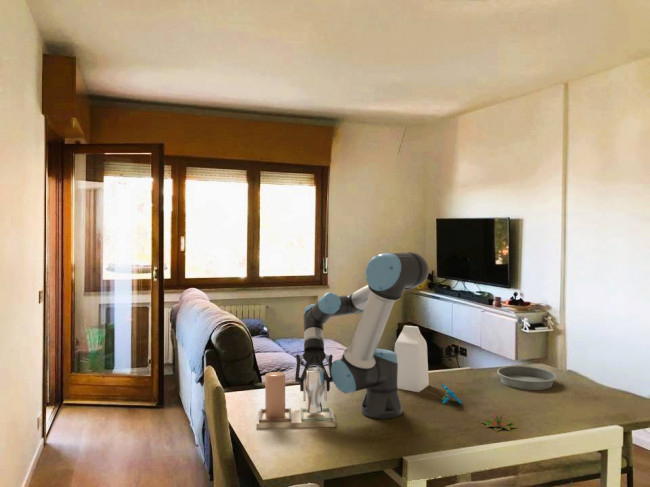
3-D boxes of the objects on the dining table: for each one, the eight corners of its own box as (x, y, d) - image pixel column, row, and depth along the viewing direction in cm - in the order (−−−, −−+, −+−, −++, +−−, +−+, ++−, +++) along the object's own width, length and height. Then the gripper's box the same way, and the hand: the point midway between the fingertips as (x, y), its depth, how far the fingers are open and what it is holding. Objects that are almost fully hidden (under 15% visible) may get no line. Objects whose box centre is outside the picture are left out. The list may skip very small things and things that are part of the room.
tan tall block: (288, 415, 193) (288, 373, 193) (278, 421, 187) (278, 378, 186) (272, 412, 196) (272, 371, 196) (261, 418, 190) (261, 375, 189)
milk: (392, 387, 232) (392, 327, 231) (403, 381, 241) (403, 323, 240) (418, 392, 225) (419, 329, 224) (428, 385, 235) (429, 325, 234)
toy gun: (466, 403, 205) (446, 384, 206) (455, 415, 205) (435, 395, 206) (459, 398, 216) (441, 380, 217) (449, 409, 216) (431, 391, 217)
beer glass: (317, 416, 188) (318, 373, 187) (300, 411, 192) (301, 370, 191) (328, 410, 194) (328, 368, 193) (311, 406, 198) (312, 365, 197)
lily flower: (473, 423, 191) (473, 410, 191) (501, 418, 195) (501, 406, 195) (495, 435, 180) (496, 421, 180) (524, 430, 184) (525, 417, 184)
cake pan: (494, 387, 232) (494, 377, 232) (499, 373, 255) (499, 363, 255) (557, 394, 223) (557, 383, 223) (556, 378, 246) (556, 368, 245)
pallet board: (332, 413, 199) (332, 406, 199) (335, 426, 186) (335, 419, 186) (258, 415, 198) (258, 408, 197) (256, 428, 185) (256, 420, 184)
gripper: (339, 347, 208) (342, 404, 192) (287, 347, 207) (287, 404, 191) (340, 337, 202) (344, 394, 187) (287, 337, 201) (287, 394, 186)
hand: (315, 399), depth 189 cm, fingers closed on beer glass, 7 cm apart
